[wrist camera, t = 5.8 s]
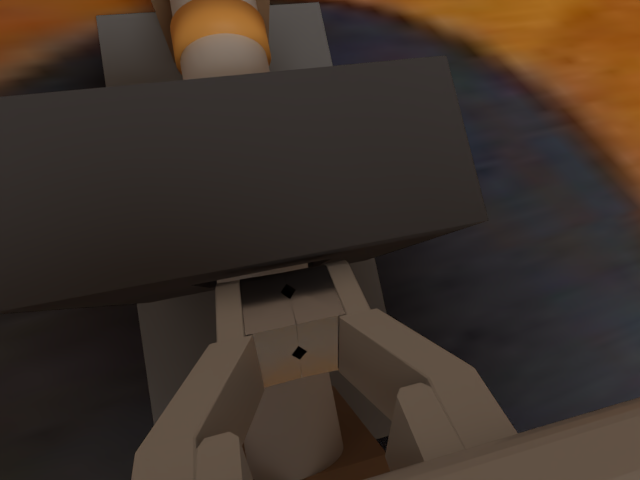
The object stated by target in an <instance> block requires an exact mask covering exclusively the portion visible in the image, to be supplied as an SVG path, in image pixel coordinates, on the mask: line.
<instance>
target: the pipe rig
mask: <svg viewBox="0 0 640 480" xmlns="http://www.w3.org/2000/svg"><path fill="white" fill-rule="evenodd" d="M151 2H152V4H153V7H154V10H155V12H150V13H134V14H117V15H100V16H96V19H97V27H98V34H99V41H100V48H101V55H102V62H103V69H104V76H105V83H106V87H113V86H123V85H134V84H145V83H156V82H166V81H177V80H188V79H199V78H209V77H220V76H231V75H242V74H252V73H263V72H274V71H285V70H296V69H306V68H317V67H328V66H333V65H332V61H331V56H330V52H329V47H328V42H327V38H326V33H325V29H324V24H323V19H322V15H321V10H320V6H319V2H317V3H300V4H284V5H270V0H151ZM349 265H350V267H351V270H352V272H353V274H354V276H355V278H356V280H357V282H358V284H359V286H360V288H361V290H362V292H363V294H364V296H365V298H366V300H367V303H368V305H369V307H370V309H379V310H381V311H382V312H384V313H386V308H385V304H384V299H383V295H382V290H381V286H380V281H379V276H378V272H377V267H376V263H375V258H371V259H368V260H365V261H360V262H355V263H350V264H349ZM303 268H308V263H305V264H300V265H294V266H289V267H284V268H279V269H273V270H268V271H263V272H258V273H253V274H247V275H242V276H237V277H232V278H226V279H221V280H217V283H224V282H230V281H236V280H239V281H240V279H246V278H252V277H258V276H264V275H270V274H277V273H283V272H287V271H293V270H298V269H303ZM137 310H138V317H139V324H140V331H141V338H142V345H143V352H144V359H145V366H146V373H147V380H148V387H149V395H150V402H151V409H152V416H153V423H154V425H155V423H156V422H157V420H158V419H159V417H160V416H161V414H162V413H163V412H164V410H165V409H166V407H167V406H168V404H169V403H170V401H171V400H172V398H173V397H174V395H175V394H176V392H177V391H178V390H179V388H180V387H181V385H182V384H183V382H184V381H185V379H186V378H187V376H188V375H189V373H190V372H191V370H192V369H193V368H194V366H195V365H196V363H197V362H198V360H199V359H200V357H201V356H202V354H203V353H204V351H205V350H206V348H207V347H208V346H209V344H212V343H216V342H217V335H216V302H215V290H212V291H207V292H202V293H197V294H192V295H186V296H181V297H176V298H171V299H166V300H161V301H156V302H151V303H138V304H137ZM386 314H387V313H386ZM301 377H302V375H301ZM264 389H265V391H264V393H263V396H262V398H261V401H260V403H259V405H258V408H257V410H256V413H255V415H254V418H253V420H252V423H251V425H250V428H249V430H248V433H247V435H246V438H245V440H244V443H243V445H242V448H243V451H244V454H245V457H246V460H247V463H248V466H249V469H250V472H251V475H252V478H253V480H364V479H367V478H370V477H374V476H377V475H380V474H384V473H387V472H390V469H389V466H388V464H387V461H386V458H385V453H386V452H385V451H384V449H383V448H382V447H381V445H380V444H379V443H378V442H377V440H376V439H379V438H383V437H386V436H389V433H390V428H391V423H392V421H391V420H390V419H389V418H388V417H387V416H385V415H384V414H383V413H382V412H381V411H380V410H379V409H378V408H377V407H376V406H375V405H374V404H373V403H372V402H371V401H369V400H368V399H367V398H366V397H365V396H364V395H363V394H362V393H361V392H360V391H359V390H358V389H357V388H356V387H355V386H353V385H352V384H351V383H350V382H349V381H348V380H347V379H346V378H345V377H344V376H343V375H342V374H341V373H340V372H339V370H336V371H331V372H326V373H322V374H317V375H312V376H307V377H303V378H299V379H295V380H291V381H287V382H284V383H280V384H276V385H273V386H269V387H265V388H264Z"/></svg>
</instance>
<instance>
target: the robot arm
mask: <svg viewBox="0 0 640 480" xmlns="http://www.w3.org/2000/svg"><path fill="white" fill-rule="evenodd" d="M215 302H216V335H217V342H216V343H212V344H209V346H208V347H207V348H206V350H205V351H204V353H203V354H202V356H201V357H200V359H199V360H198V362H197V363H196V365H195V366H194V368H193V369H192V370H191V372H190V373H189V375H188V376H187V378H186V379H185V381H184V382H183V384H182V385H181V387H180V388H179V390H178V391H177V392H176V394H175V395H174V397H173V398H172V400H171V401H170V403H169V404H168V406H167V407H166V409H165V410H164V412H163V413H162V414H161V416H160V417H159V419H158V420H157V422H156V423H155V425H154V426H153V428H152V429H151V431H150V432H149V434H148V435H147V436H146V438H145V439H144V441H143V442H142V444H141V445H140V447H139V448H138V450H137V451H136V453H135V457H134V464H133V471H132V478H131V480H253V478H252V475H251V472H250V469H249V466H248V463H247V460H246V457H245V454H244V451H243V448H242V445H243V443H244V440H245V438H246V435H247V433H248V430H249V428H250V425H251V423H252V420H253V418H254V415H255V413H256V410H257V408H258V405H259V403H260V401H261V398H262V396H263V393H264V391H265V389H264V388H265V387H269V386H273V385H276V384H280V383H284V382H287V381H291V380H295V379H299V378H303V377H307V376H312V375H317V374H322V373H326V372H331V371H336V370H339V372H340V373H341V374H342V375H343V376H344V377H345V378H346V379H347V380H348V381H349V382H350V383H351V384H352V385H353V386H355V387H356V388H357V389H358V390H359V391H360V392H361V393H362V394H363V395H364V396H365V397H366V398H367V399H368V400H369V401H371V402H372V403H373V404H374V405H375V406H376V407H377V408H378V409H379V410H380V411H381V412H382V413H383V414H384V415H385V416H387V417H388V418H389V419H390V420H391V421H392V423H391V428H390V433H389V438H388V443H387V448H386V453H385V458H386V461H387V464H388V466H389V469H390V472H387V473H384V474H380V475H377V476H374V477H370V478H367V479H364V480H640V397H639V398H635V399H632V400H629V401H625V402H622V403H619V404H615V405H612V406H608V407H605V408H602V409H598V410H595V411H592V412H588V413H585V414H582V415H578V416H575V417H572V418H568V419H565V420H561V421H558V422H555V423H551V424H548V425H545V426H541V427H538V428H535V429H531V430H528V431H525V432H521V433H517V432H516V430H515V429H514V427H513V426H512V424H511V423H510V421H509V420H508V418H507V417H506V415H505V414H504V412H503V411H502V409H501V407H500V406H499V404H498V403H497V401H496V400H495V398H494V397H493V395H492V394H491V392H490V391H489V389H488V388H487V386H486V385H485V383H484V382H483V380H482V379H481V377H480V376H479V374H478V373H477V371H476V370H475V368H474V367H472V366H471V365H469V364H467V363H466V362H464V361H463V360H461V359H459V358H458V357H456V356H454V355H453V354H451V353H449V352H448V351H446V350H445V349H443V348H441V347H440V346H438V345H436V344H435V343H433V342H431V341H430V340H428V339H427V338H425V337H423V336H422V335H420V334H418V333H417V332H415V331H413V330H412V329H410V328H409V327H407V326H405V325H404V324H402V323H400V322H399V321H397V320H395V319H394V318H392V317H391V316H389V315H387V314H386V313H384V312H382V311H381V310H379V309H370V307H369V305H368V303H367V300H366V298H365V296H364V294H363V292H362V290H361V288H360V286H359V284H358V282H357V280H356V278H355V276H354V274H353V272H352V270H351V267H350V265H349V263H348V262H347V261H346V260H342V261H337V262H332V263H327V264H325V265H318V266H313V267H308V268H303V269H298V270H293V271H287V272H283V273H277V274H270V275H264V276H258V277H252V278H246V279H240V281H239V280H236V281H230V282H224V283H217V284H216V287H215ZM301 375H302V377H301Z"/></svg>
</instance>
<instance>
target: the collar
mask: <svg viewBox="0 0 640 480" xmlns="http://www.w3.org/2000/svg"><path fill="white" fill-rule="evenodd" d="M485 221H488V216H487V212H486V209H485V205H484V201H483V197H482V193H481V189H480V185H479V181H478V177H477V174H476V170H475V166H474V162H473V158H472V154H471V150H470V146H469V142H468V138H467V135H466V131H465V127H464V123H463V119H462V115H461V111H460V107H459V103H458V100H457V96H456V92H455V88H454V84H453V80H452V76H451V72H450V68H449V64H448V61H447V57H446V56H435V57H425V58H414V59H403V60H392V61H382V62H371V63H360V64H349V65H339V66H328V67H317V68H306V69H296V70H285V71H274V72H263V73H252V74H242V75H231V76H220V77H209V78H199V79H188V80H177V81H166V82H156V83H145V84H134V85H123V86H113V87H102V88H91V89H80V90H69V91H59V92H48V93H37V94H26V95H16V96H5V97H0V314H5V313H18V312H32V311H45V310H58V309H72V308H85V307H98V306H112V305H125V304H138V303H151V302H156V301H161V300H166V299H171V298H176V297H181V296H186V295H192V294H197V293H202V292H207V291H212V290H215V287H216V284H217V280H221V279H226V278H232V277H237V276H242V275H247V274H253V273H258V272H263V271H268V270H273V269H279V268H284V267H289V266H294V265H300V264H305V263H308V267H313V266H318V265H325V264H327V263H332V262H337V261H342V260H346V261H347V262H348V263H349V264H350V263H355V262H360V261H365V260H368V259H371V258H374V257H378V256H381V255H384V254H387V253H390V252H393V251H396V250H399V249H402V248H405V247H408V246H411V245H414V244H417V243H421V242H424V241H427V240H430V239H433V238H436V237H439V236H442V235H445V234H448V233H451V232H454V231H457V230H460V229H464V228H467V227H470V226H473V225H476V224H479V223H482V222H485Z"/></svg>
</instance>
